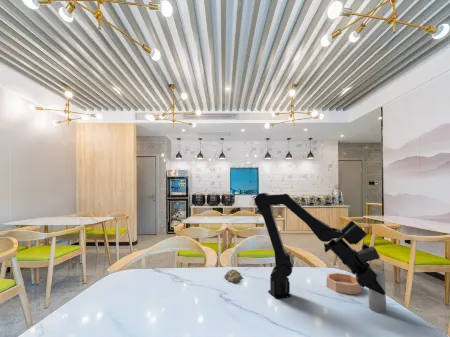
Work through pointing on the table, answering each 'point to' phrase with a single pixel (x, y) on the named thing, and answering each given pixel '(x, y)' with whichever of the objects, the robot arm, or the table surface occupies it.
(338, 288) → the terracotta bowl
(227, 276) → the mineral rock
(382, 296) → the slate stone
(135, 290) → the table surface
